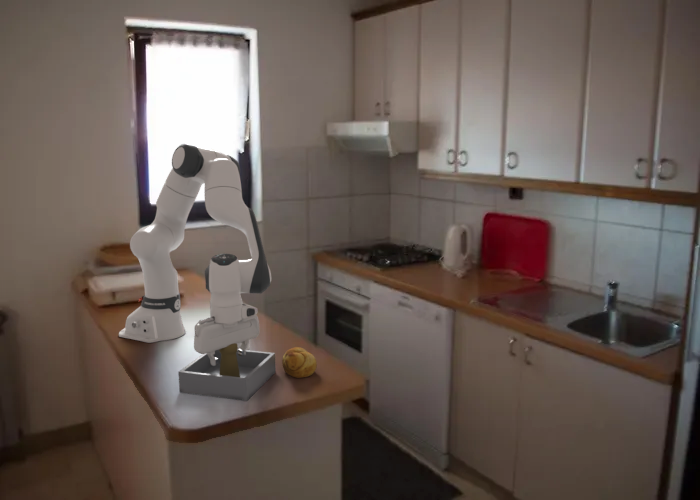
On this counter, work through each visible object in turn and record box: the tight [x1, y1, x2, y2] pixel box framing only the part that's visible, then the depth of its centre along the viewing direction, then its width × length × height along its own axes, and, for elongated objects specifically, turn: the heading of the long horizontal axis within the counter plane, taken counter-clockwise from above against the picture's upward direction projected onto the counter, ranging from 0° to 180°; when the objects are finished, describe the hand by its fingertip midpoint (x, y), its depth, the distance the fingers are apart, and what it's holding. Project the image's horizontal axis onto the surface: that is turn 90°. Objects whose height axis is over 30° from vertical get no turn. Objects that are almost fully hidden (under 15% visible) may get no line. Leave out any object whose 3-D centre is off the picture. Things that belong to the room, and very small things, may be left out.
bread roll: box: [281, 346, 318, 379], centre depth 184 cm, size 13×10×8 cm
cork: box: [219, 343, 240, 377], centre depth 176 cm, size 6×6×11 cm
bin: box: [178, 349, 276, 402], centre depth 177 cm, size 20×20×6 cm
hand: (228, 359), depth 176 cm, fingers open, 8 cm apart
